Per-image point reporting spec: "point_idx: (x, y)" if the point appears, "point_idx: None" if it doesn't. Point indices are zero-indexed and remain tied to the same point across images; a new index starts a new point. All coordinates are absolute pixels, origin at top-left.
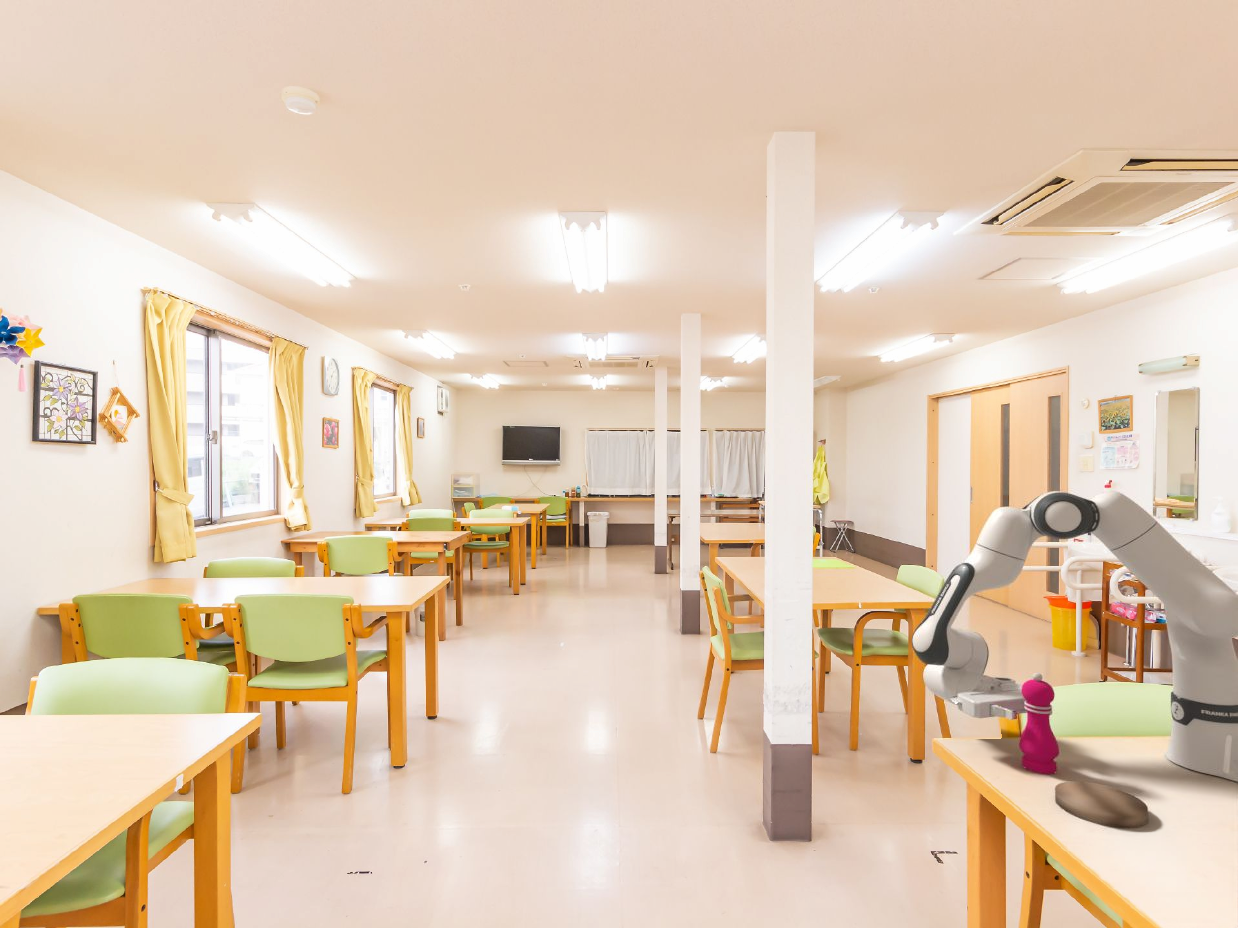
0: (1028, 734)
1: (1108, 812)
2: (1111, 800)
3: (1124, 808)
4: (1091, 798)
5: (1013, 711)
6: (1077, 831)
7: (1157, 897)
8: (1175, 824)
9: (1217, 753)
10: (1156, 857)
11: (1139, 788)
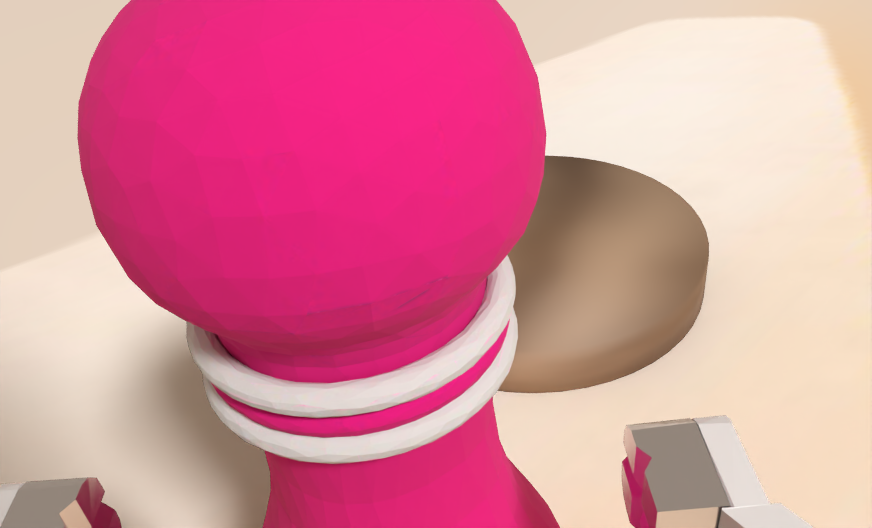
0: (540, 510)
1: (600, 172)
2: None
3: None
4: (575, 235)
5: (680, 422)
6: (758, 186)
7: (751, 42)
8: None
9: None
10: (615, 110)
11: (150, 385)
